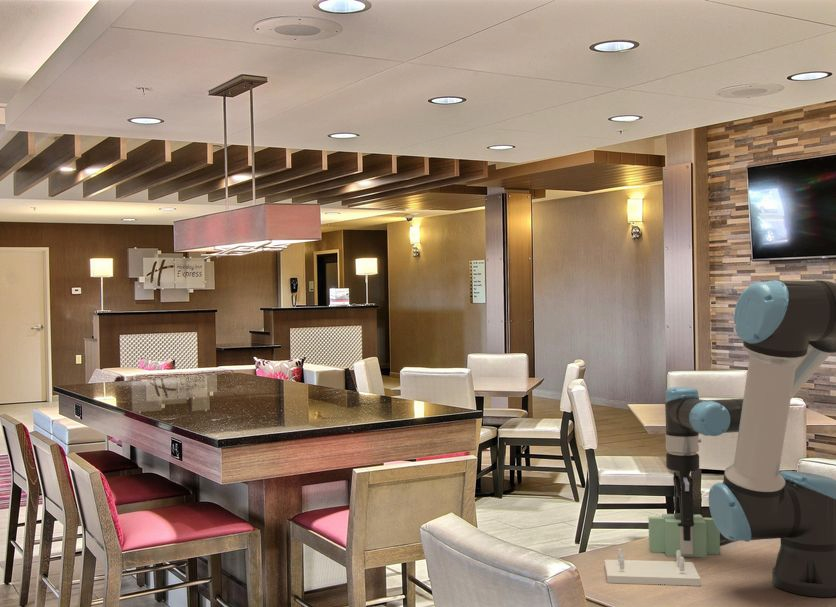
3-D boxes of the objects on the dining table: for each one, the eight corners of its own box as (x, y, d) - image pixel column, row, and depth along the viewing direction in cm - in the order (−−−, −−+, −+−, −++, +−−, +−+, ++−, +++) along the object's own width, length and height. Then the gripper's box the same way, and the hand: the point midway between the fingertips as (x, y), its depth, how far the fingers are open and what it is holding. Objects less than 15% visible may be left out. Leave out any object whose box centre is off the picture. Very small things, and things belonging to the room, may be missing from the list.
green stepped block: (716, 548, 212) (715, 511, 212) (722, 557, 204) (721, 519, 204) (647, 546, 215) (647, 510, 215) (651, 555, 207) (650, 518, 207)
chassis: (692, 568, 196) (691, 546, 196) (700, 585, 184) (700, 562, 184) (604, 566, 199) (604, 543, 199) (607, 582, 187) (607, 559, 187)
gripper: (706, 460, 199) (707, 561, 199) (692, 445, 219) (693, 537, 219) (671, 460, 200) (673, 560, 200) (661, 445, 220) (662, 536, 220)
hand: (683, 548), depth 209 cm, fingers closed on green stepped block, 8 cm apart
